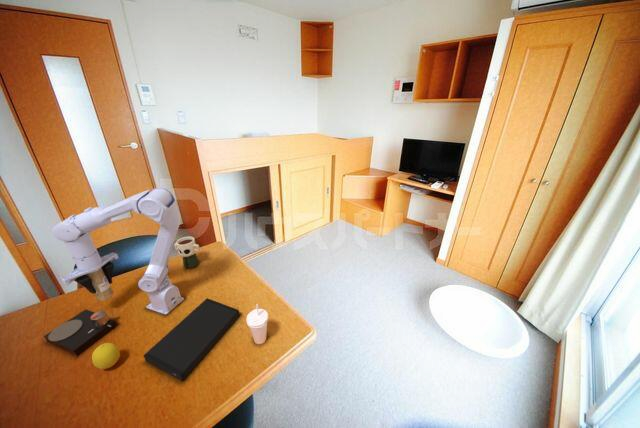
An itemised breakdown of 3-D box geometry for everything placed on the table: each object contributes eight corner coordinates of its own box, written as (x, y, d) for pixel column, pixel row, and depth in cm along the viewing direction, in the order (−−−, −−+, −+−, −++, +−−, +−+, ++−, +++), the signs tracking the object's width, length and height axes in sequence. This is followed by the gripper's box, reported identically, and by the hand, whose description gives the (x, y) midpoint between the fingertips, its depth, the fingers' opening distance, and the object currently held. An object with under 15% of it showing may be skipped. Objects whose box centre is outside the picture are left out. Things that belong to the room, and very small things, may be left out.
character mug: (175, 269, 105) (167, 244, 99) (184, 259, 111) (178, 235, 106) (199, 270, 104) (193, 245, 99) (207, 260, 111) (201, 236, 105)
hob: (126, 322, 80) (123, 316, 78) (80, 357, 69) (76, 351, 67) (94, 310, 84) (91, 304, 83) (47, 341, 73) (43, 335, 72)
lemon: (103, 379, 63) (91, 360, 60) (95, 368, 66) (83, 349, 63) (127, 362, 68) (117, 343, 64) (118, 352, 70) (108, 333, 67)
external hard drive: (239, 316, 83) (238, 309, 81) (183, 382, 63) (180, 375, 62) (208, 304, 87) (206, 298, 86) (146, 362, 68) (142, 355, 66)
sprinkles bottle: (113, 297, 81) (98, 265, 75) (95, 303, 79) (78, 270, 73) (114, 289, 84) (100, 258, 78) (98, 294, 82) (82, 262, 76)
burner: (88, 324, 76) (88, 323, 76) (58, 344, 69) (58, 344, 69) (73, 317, 78) (72, 316, 78) (42, 337, 71) (42, 336, 71)
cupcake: (106, 316, 78) (101, 308, 77) (111, 321, 77) (107, 312, 75) (92, 324, 76) (87, 316, 74) (98, 329, 74) (93, 320, 72)
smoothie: (274, 333, 77) (271, 301, 71) (263, 351, 71) (259, 317, 65) (257, 327, 79) (252, 295, 73) (245, 344, 73) (239, 311, 67)
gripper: (102, 239, 81) (116, 271, 87) (46, 264, 69) (67, 299, 75) (116, 243, 79) (129, 275, 85) (62, 269, 67) (81, 305, 73)
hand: (101, 287), depth 80 cm, fingers closed on sprinkles bottle, 4 cm apart
